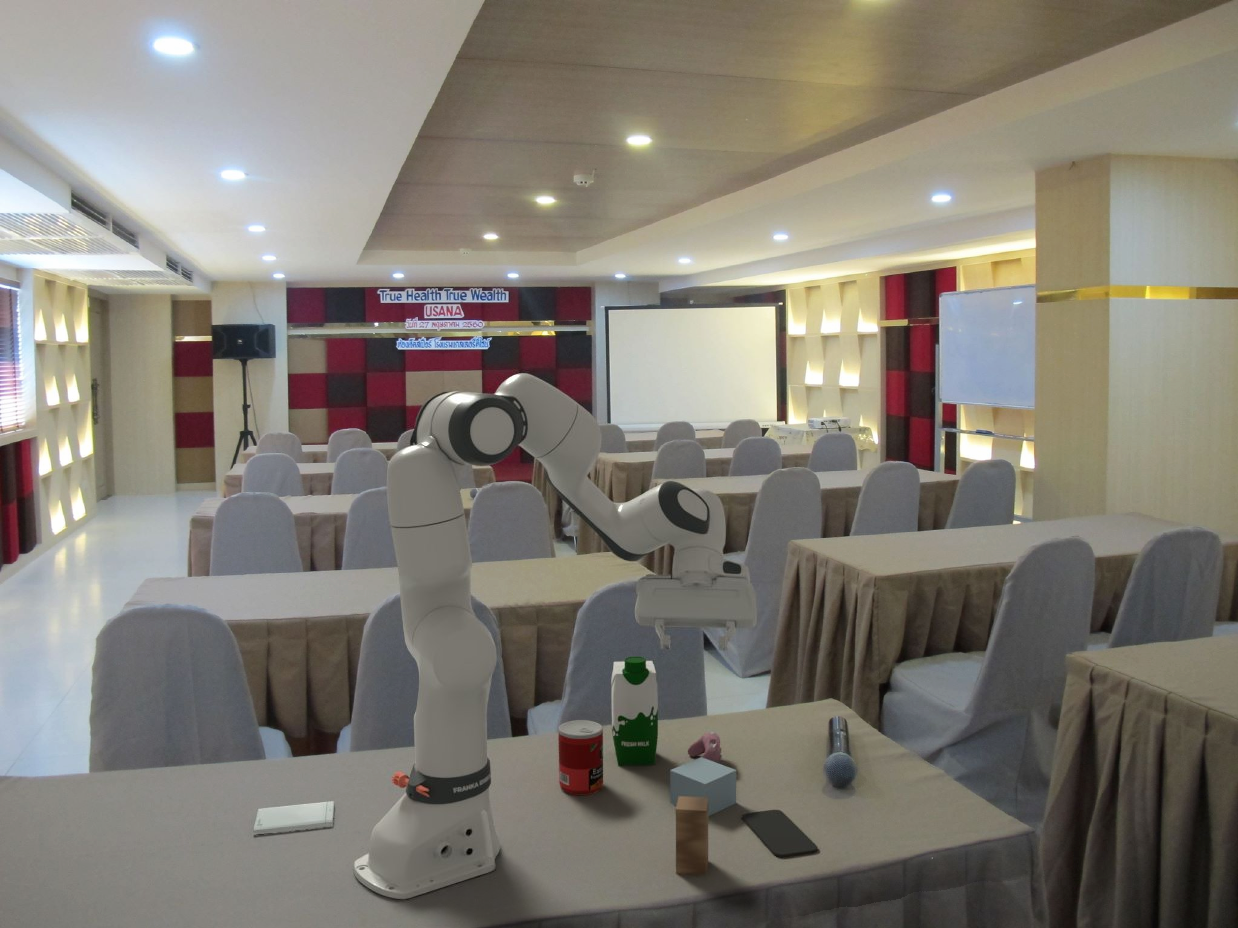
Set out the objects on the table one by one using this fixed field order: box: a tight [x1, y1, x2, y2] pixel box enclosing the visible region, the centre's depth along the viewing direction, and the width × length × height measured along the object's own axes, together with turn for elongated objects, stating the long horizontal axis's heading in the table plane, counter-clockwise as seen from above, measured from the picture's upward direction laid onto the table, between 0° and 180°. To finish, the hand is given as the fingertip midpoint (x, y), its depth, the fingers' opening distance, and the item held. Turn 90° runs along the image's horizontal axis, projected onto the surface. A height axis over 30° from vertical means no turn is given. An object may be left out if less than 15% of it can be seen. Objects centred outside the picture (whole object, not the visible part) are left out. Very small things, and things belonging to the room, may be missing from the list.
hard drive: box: [252, 801, 335, 836], centre depth 169 cm, size 2×8×12 cm
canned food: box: [557, 719, 604, 796], centre depth 181 cm, size 8×8×11 cm
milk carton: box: [610, 656, 659, 767], centre depth 193 cm, size 9×9×20 cm
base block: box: [669, 756, 737, 817], centre depth 174 cm, size 8×8×6 cm
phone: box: [741, 809, 819, 859], centre depth 163 cm, size 7×1×15 cm
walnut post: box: [675, 796, 709, 876], centre depth 152 cm, size 4×4×10 cm
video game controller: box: [687, 730, 723, 763], centre depth 190 cm, size 10×5×7 cm, turn 0°
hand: (693, 648), depth 164 cm, fingers open, 8 cm apart
